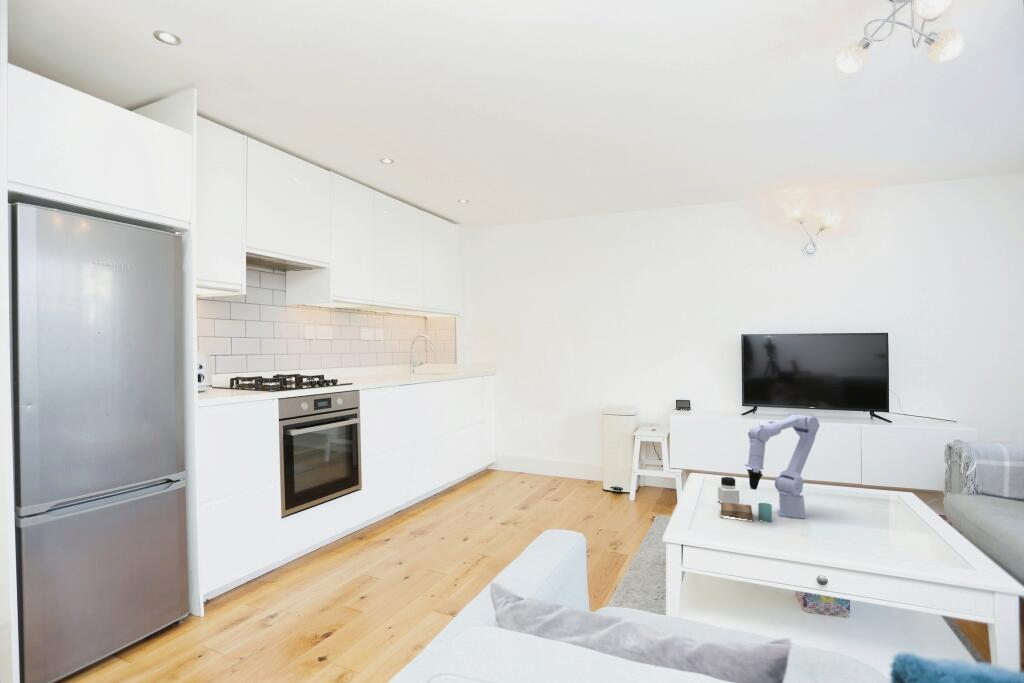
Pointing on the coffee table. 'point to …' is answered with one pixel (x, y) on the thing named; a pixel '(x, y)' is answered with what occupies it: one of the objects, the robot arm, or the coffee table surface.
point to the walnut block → (736, 510)
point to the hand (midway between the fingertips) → (752, 488)
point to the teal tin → (765, 512)
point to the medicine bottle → (728, 491)
